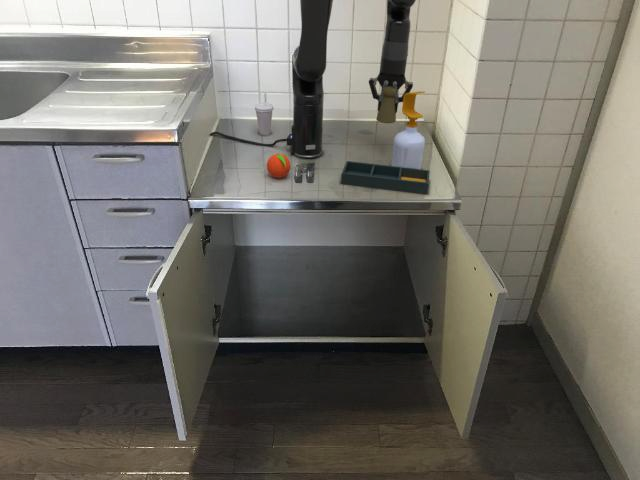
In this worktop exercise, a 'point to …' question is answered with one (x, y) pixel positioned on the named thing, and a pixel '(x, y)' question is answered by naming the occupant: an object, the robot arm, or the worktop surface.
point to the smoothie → (264, 117)
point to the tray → (385, 177)
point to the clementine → (278, 165)
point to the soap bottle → (409, 137)
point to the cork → (387, 106)
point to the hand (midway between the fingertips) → (387, 113)
